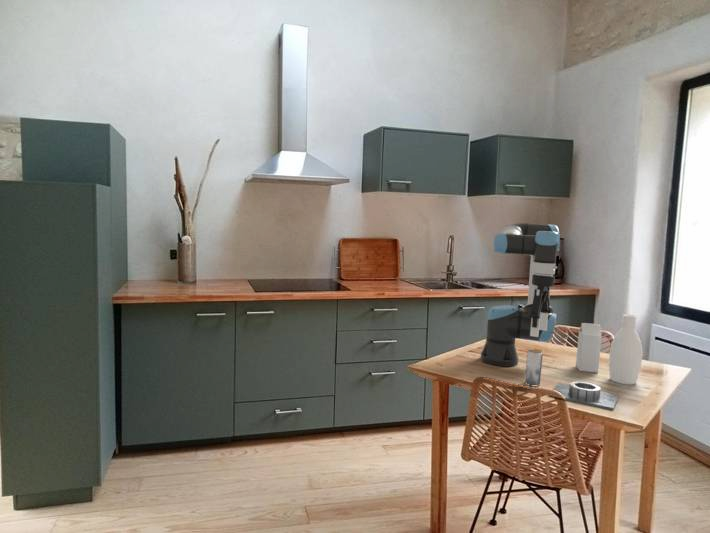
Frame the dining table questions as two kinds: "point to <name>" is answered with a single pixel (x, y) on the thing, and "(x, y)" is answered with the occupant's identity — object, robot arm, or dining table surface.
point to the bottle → (626, 353)
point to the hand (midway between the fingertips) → (538, 333)
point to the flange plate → (599, 402)
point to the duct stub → (533, 367)
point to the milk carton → (589, 347)
